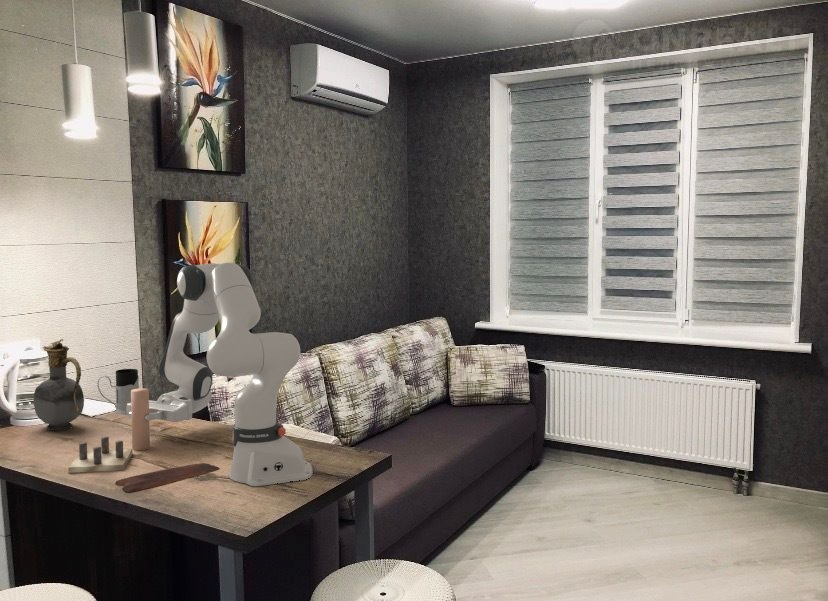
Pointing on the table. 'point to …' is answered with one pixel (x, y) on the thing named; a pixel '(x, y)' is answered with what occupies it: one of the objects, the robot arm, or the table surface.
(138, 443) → the post
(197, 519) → the table surface
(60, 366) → the pitcher
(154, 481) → the wooden tablet
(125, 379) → the glass holder
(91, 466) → the peg stand
